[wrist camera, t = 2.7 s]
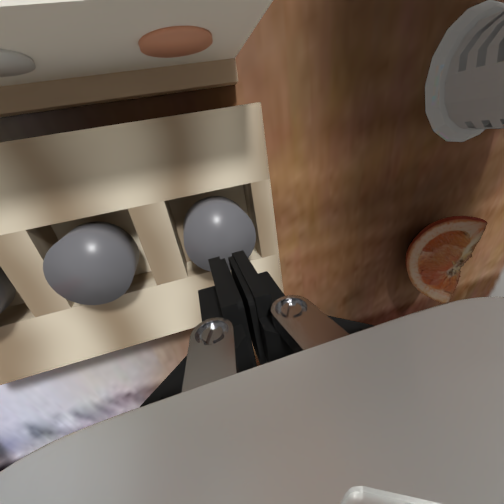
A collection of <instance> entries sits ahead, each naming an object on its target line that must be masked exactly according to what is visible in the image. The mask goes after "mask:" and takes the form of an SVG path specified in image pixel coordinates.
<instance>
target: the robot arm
mask: <svg viewBox="0 0 504 504" xmlns="http://www.w3.org/2000/svg"><path fill="white" fill-rule="evenodd" d="M228 260H229V265H230V269H231V272H230V270H229V267H228V265H227V263H226V260H225V258H223V259H220V257H215V258H211V259H208V261H209V265H210V269H211V273H212V277H213V281H214V284H215V286H211V287H208V288H204V289H201V290H198V296H199V303H200V311H201V318H202V322H201V323H200V324H198V325H197V326H196V327H195V328H194V329H193V331H192V333H191V336H190V341H189V348H188V354H187V356H186V357H185V358H184V359H183V360H182V361H181V363H180V364H179V365H178V366H177V367H176V368H175V369H174V370H173V371H172V372H171V373H170V375H169V376H168V377H167V378H166V379H165V380H164V381H163V382H162V383H161V384H160V385H159V387H158V388H157V389H156V390H155V391H154V392H153V393H152V394H151V395H150V396H149V397H148V398H147V400H146V401H145V402H144V403H143V404H142V405H141V406H140V408H137V409H134V410H131V411H128V412H125V413H122V414H120V415H117V416H115V417H112V418H109V419H107V420H104V421H102V422H99V423H96V424H94V425H91V426H88V427H86V428H83V429H81V430H78V431H75V432H73V433H71V434H69V435H66V436H64V437H62V438H60V439H58V440H55V441H53V442H51V443H49V444H47V445H45V446H43V447H41V448H39V449H38V450H36V451H34V452H32V453H30V454H28V455H26V456H25V457H23V458H21V459H19V460H18V461H16V462H14V463H13V464H11V465H10V466H8V467H7V468H5V469H4V470H2V471H1V472H0V504H504V297H479V298H471V299H463V300H458V301H454V302H449V303H445V304H441V305H438V306H435V307H431V308H428V309H425V310H421V311H418V312H415V313H412V314H409V315H406V316H403V317H400V318H397V319H394V320H391V321H388V322H385V323H382V324H379V325H376V326H374V325H369V324H365V323H360V322H355V321H350V320H346V319H341V318H336V317H331V316H327V315H326V314H325V313H323V312H322V311H321V310H320V309H319V308H317V307H316V306H315V305H314V304H313V303H311V302H310V301H309V300H308V299H306V298H304V297H301V296H296V295H289V296H285V295H284V293H283V292H282V291H281V289H280V288H279V287H278V285H277V284H276V282H275V281H274V280H273V278H272V277H271V275H270V274H269V273H268V272H267V271H265V272H262V273H257V271H256V270H255V268H254V267H253V265H252V263H251V262H250V260H249V259H248V257H247V256H246V254H245V252H244V251H243V250H242V251H238V252H234V253H232V256H231V257H228ZM251 341H252V342H251ZM252 344H253V346H254V349H255V352H256V354H257V357H258V359H259V362H260V364H261V365H260V366H257V365H256V360H255V356H254V351H253V346H252ZM262 364H263V365H262ZM256 366H257V367H256ZM253 367H254V368H253Z"/></svg>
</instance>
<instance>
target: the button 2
mask: <svg viewBox="0 0 504 504" xmlns="http://www.w3.org/2000/svg"><path fill="white" fill-rule="evenodd" d="M183 235H184V247H185V250H186V253H187V255H188V257H189V258H190V259H191V261H192V262H193V263H194V264H196V265H197V266H198V267H200V268H202V269H204V270H207V271H210V272H211V269H210V265H209V261H208V259H211V258H215V257H220V259H223V258H225V260H226V263H227V265H228V267H229V270H231V269H230V265H229V260H228V257H231V256H232V253H234V252H238V251H242V250H243V251H244V252H245V254H246V256H247V257H248V258H249V256H250V255H251V253H252V251H253V249H254V246H255V242H256V232H255V227H254V225H253V223H252V221H251V219H250V218H249V216H248V215H247V214H246V213H245V212H244V211H243V210H242V209H241V208H240V207H239V206H238V205H237V204H236V203H235V202H234V201H232V200H230V199H228V198H226V197H222V196H210V197H206V198H203V199H201V200H199V201H197V202H196V203H195V204H193V205H192V206H191V207H190V209H189V210H188V212H187V214H186V216H185V218H184V223H183Z"/></svg>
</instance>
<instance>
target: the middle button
mask: <svg viewBox="0 0 504 504" xmlns="http://www.w3.org/2000/svg"><path fill="white" fill-rule="evenodd" d="M138 262H139V249H138V246H137V244H136V242H135V240H134V239H133V238H132V236H131V235H130V234H129V233H128V232H126V231H125V230H124V229H122V228H120V227H119V226H116V225H114V224H111V223H107V222H100V221H94V222H87V223H83V224H81V225H78V226H77V227H75V228H74V229H72V230H71V231H70V232H69V233H67V234H66V235H65V236H64V237H63V238H61V239H60V240H59V241H58V242H56V243H55V244H54V245H53V246H52V247H51V248H50V249H49V250H48V252H47V253H46V255H45V258H44V261H43V272H44V276H45V278H46V280H47V282H48V284H49V285H50V287H51V288H52V289H53V290H54V291H55V292H56V293H58V294H59V295H60V296H62V297H63V298H65V299H67V300H70V301H72V302H75V303H79V304H84V305H101V304H106V303H109V302H112V301H114V300H116V299H118V298H119V297H121V296H122V295H123V294H124V293H125V292H126V291H127V290H128V289H129V287H130V285H131V283H132V280H133V277H134V274H135V271H136V268H137V265H138Z"/></svg>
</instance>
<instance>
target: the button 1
mask: <svg viewBox="0 0 504 504" xmlns="http://www.w3.org/2000/svg"><path fill="white" fill-rule="evenodd" d="M15 294H16V289H15V287H14V286H13V284H12V283H11V281H10V280H9V278H8V277H7V275H6V274H5V272H4V271H3V269H2V268H1V266H0V314H1V313H2V312H3V311H4V310H5V309H6V308H7V307H8V306H9V305H10V304H11V303H12V301H13V300H14V297H15Z"/></svg>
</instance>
